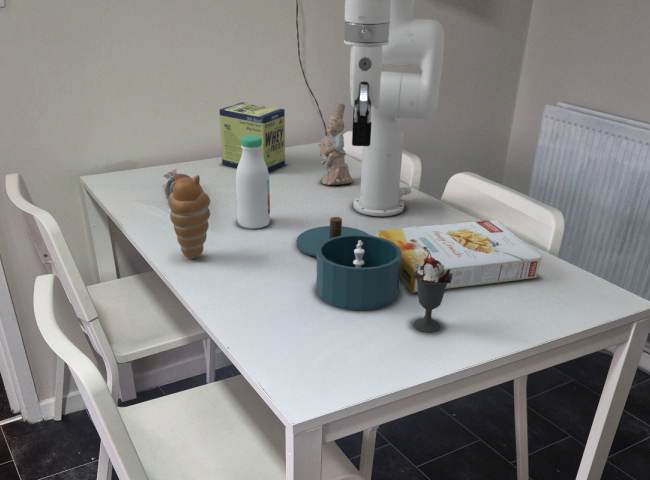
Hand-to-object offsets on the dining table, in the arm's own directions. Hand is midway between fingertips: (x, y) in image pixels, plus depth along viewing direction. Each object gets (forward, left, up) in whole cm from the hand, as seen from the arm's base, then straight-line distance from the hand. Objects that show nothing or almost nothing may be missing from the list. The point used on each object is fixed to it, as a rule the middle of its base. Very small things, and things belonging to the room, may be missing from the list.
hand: (361, 137), depth 129 cm
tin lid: (-9, -15, -28) cm, 33 cm away
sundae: (+3, +22, -28) cm, 36 cm away
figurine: (-38, -46, -28) cm, 66 cm away
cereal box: (-21, +9, -28) cm, 36 cm away
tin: (+3, +4, -28) cm, 29 cm away
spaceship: (+4, -58, -28) cm, 64 cm away
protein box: (-30, -72, -28) cm, 83 cm away
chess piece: (+3, +4, -28) cm, 28 cm away
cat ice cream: (+19, -30, -28) cm, 46 cm away
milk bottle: (-3, -37, -28) cm, 47 cm away
